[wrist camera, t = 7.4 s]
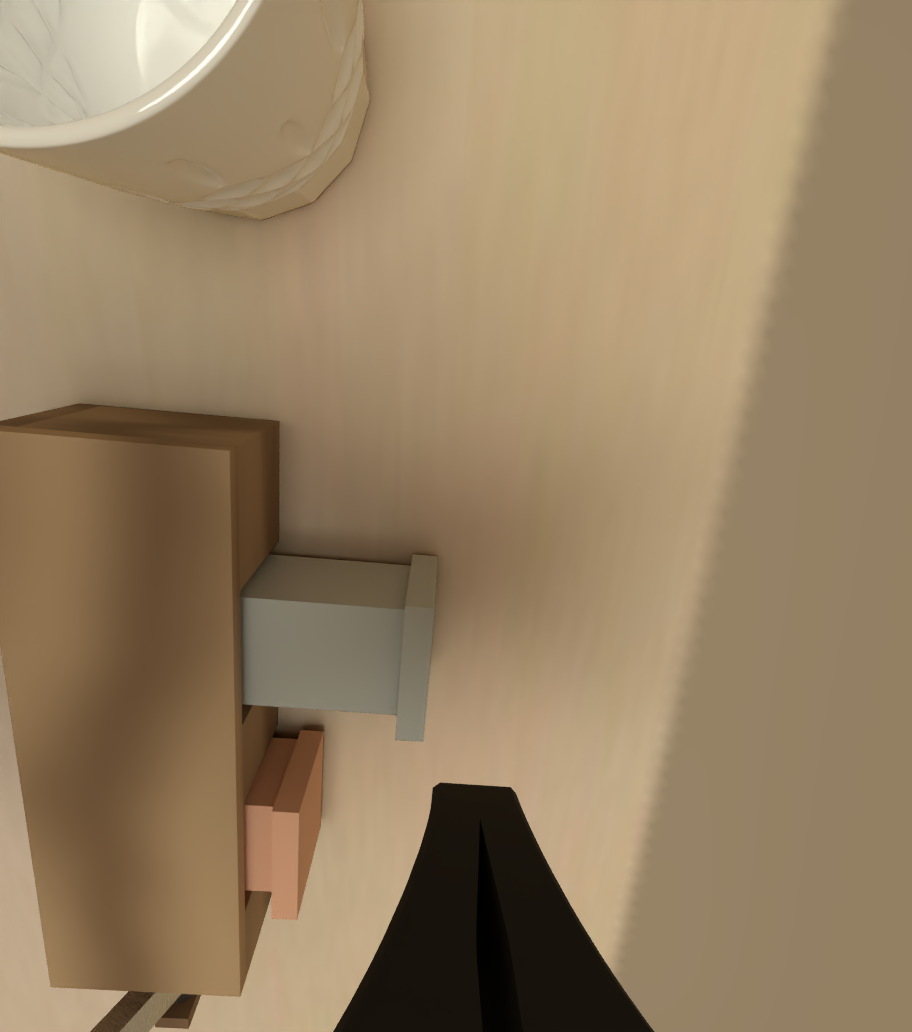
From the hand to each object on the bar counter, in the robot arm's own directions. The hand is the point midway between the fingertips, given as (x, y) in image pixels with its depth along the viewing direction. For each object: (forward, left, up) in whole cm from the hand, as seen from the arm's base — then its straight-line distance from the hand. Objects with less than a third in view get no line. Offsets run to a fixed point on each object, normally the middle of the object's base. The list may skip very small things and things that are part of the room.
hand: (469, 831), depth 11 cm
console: (-10, +3, -10) cm, 15 cm away
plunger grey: (-4, +3, -10) cm, 11 cm away
